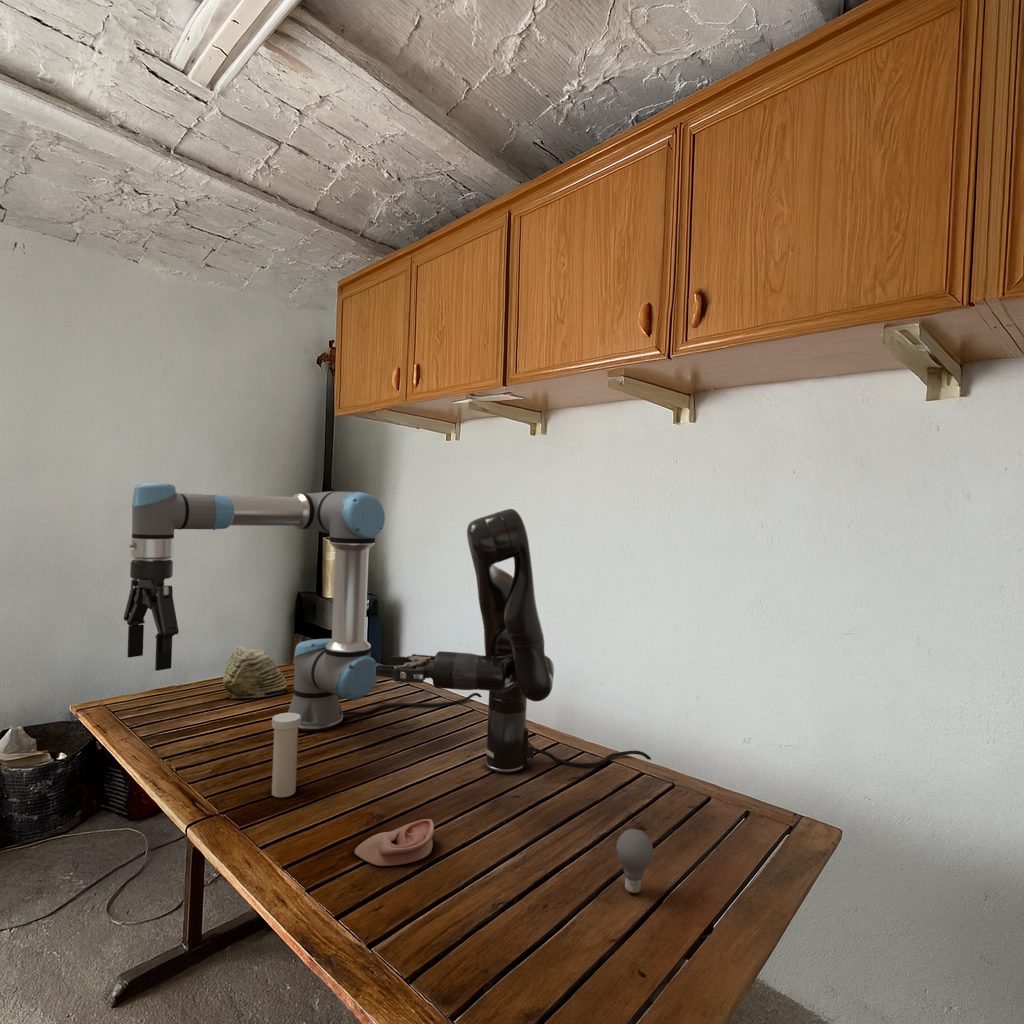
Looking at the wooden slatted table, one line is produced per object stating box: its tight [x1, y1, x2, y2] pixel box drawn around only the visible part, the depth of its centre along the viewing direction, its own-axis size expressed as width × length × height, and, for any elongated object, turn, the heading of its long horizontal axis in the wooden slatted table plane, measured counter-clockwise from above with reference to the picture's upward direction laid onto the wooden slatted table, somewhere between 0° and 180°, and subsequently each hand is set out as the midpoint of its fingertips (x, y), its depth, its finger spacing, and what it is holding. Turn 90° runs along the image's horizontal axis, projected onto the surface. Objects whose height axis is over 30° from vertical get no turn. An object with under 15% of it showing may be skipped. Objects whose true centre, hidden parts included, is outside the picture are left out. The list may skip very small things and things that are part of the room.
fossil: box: [222, 646, 288, 699], centre depth 198 cm, size 9×18×15 cm, turn 132°
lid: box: [271, 712, 301, 730], centre depth 135 cm, size 6×6×2 cm
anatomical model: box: [354, 818, 435, 867], centre depth 115 cm, size 13×4×12 cm
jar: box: [271, 727, 299, 798], centre depth 135 cm, size 5×5×16 cm
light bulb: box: [615, 828, 654, 894], centre depth 106 cm, size 6×6×10 cm
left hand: (148, 662), depth 129 cm, fingers open, 13 cm apart
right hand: (382, 665), depth 134 cm, fingers open, 8 cm apart
